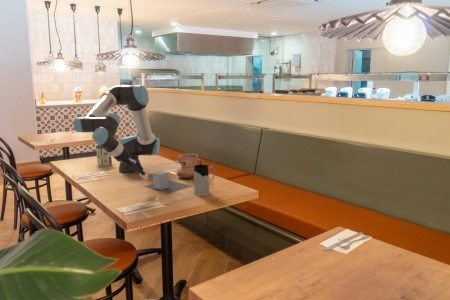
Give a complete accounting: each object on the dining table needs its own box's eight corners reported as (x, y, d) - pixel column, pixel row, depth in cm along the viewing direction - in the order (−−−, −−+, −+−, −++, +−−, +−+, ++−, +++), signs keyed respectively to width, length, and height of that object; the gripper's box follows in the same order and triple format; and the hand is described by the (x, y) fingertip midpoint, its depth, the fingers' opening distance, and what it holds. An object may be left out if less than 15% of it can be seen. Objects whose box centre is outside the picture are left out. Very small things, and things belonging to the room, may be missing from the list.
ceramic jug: (180, 181, 227) (179, 158, 224) (171, 176, 239) (171, 154, 236) (207, 178, 235) (207, 156, 232) (197, 173, 248) (197, 152, 245)
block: (153, 188, 212) (152, 172, 210) (161, 186, 216) (161, 170, 215) (160, 190, 208) (159, 174, 206) (168, 187, 213) (168, 172, 211)
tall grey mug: (190, 193, 203) (189, 166, 201) (209, 187, 213) (209, 162, 210) (201, 196, 197) (200, 168, 194) (220, 191, 207) (220, 164, 204)
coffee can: (105, 162, 282) (104, 143, 280) (115, 163, 277) (113, 145, 274) (94, 165, 274) (92, 146, 271) (103, 166, 268) (102, 147, 266)
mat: (143, 187, 216) (143, 186, 216) (167, 180, 230) (167, 179, 230) (168, 194, 202) (168, 193, 202) (192, 186, 216) (192, 186, 216)
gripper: (106, 156, 192) (135, 181, 207) (121, 159, 183) (150, 185, 199) (115, 144, 195) (143, 170, 210) (130, 147, 186) (158, 173, 202)
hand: (146, 177), depth 204 cm, fingers closed
